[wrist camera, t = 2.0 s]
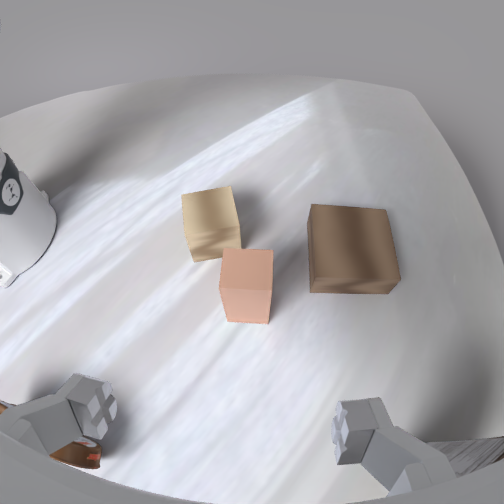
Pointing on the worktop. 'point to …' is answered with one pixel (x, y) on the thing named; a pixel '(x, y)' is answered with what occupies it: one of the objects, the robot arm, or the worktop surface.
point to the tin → (73, 450)
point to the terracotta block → (246, 284)
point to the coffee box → (471, 453)
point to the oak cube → (210, 223)
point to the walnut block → (351, 250)
